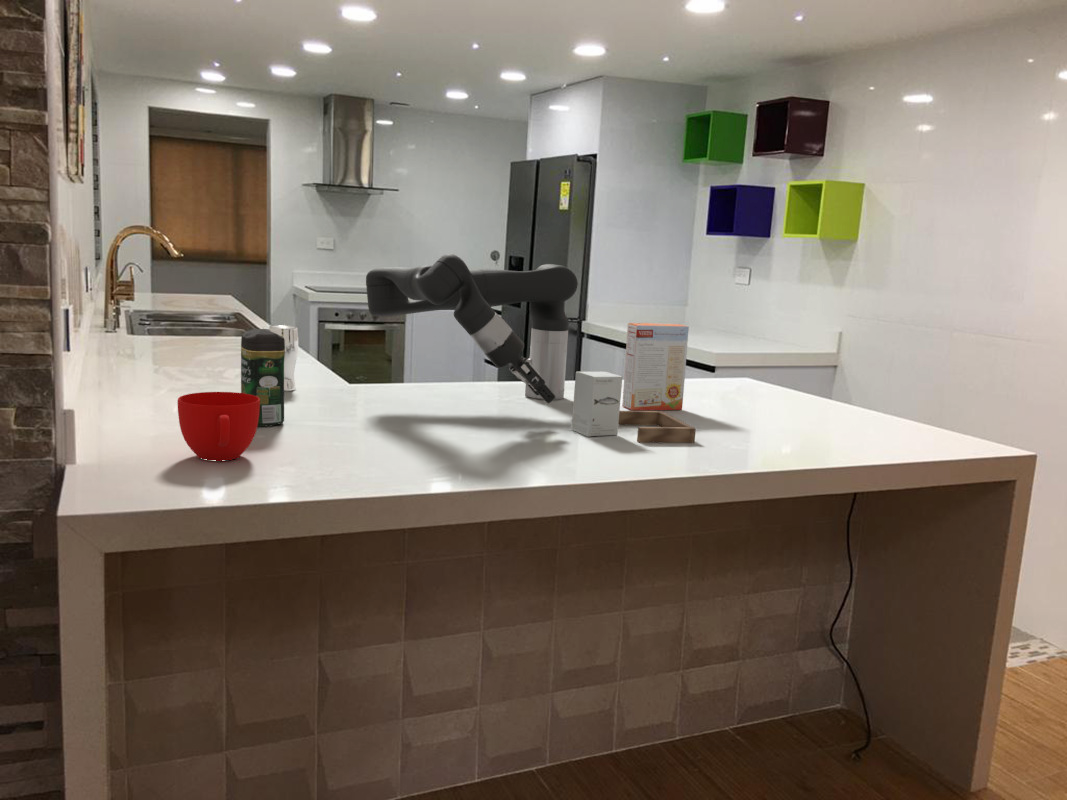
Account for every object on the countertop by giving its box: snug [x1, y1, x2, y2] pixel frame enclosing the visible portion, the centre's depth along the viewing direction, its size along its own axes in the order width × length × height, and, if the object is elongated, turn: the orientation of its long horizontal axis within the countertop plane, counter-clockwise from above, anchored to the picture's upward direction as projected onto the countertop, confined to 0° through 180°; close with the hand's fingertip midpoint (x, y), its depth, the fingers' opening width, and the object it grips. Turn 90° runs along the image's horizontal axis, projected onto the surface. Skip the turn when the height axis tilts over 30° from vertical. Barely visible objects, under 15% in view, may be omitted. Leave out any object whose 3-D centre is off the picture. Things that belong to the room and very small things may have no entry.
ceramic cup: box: [177, 391, 260, 462], centre depth 151 cm, size 13×17×10 cm
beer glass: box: [268, 325, 299, 392], centre depth 218 cm, size 7×7×15 cm
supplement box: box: [571, 371, 623, 438], centre depth 191 cm, size 7×7×13 cm
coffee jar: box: [240, 328, 285, 428], centre depth 180 cm, size 10×8×19 cm
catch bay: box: [618, 410, 697, 444], centre depth 195 cm, size 12×18×3 cm
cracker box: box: [621, 322, 690, 411], centre depth 223 cm, size 14×6×21 cm, turn 109°
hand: (546, 396), depth 192 cm, fingers open, 8 cm apart
